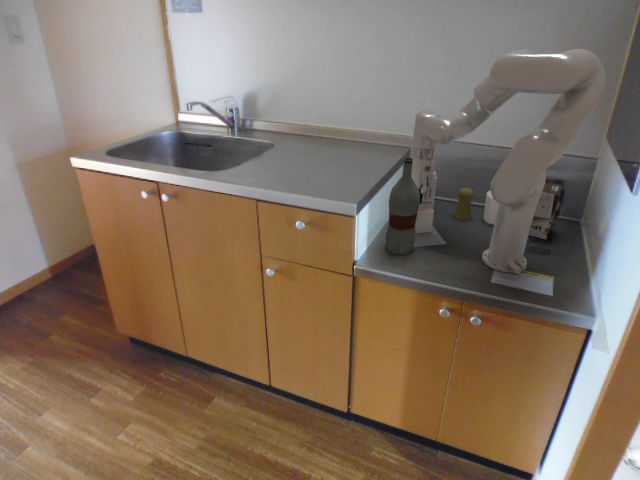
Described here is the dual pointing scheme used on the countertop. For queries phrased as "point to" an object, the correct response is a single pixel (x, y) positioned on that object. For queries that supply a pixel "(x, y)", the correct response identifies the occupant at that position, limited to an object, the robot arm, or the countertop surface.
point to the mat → (428, 238)
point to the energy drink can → (429, 195)
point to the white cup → (490, 209)
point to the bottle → (403, 212)
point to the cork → (464, 204)
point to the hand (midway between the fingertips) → (416, 203)
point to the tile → (424, 220)
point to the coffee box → (545, 210)
